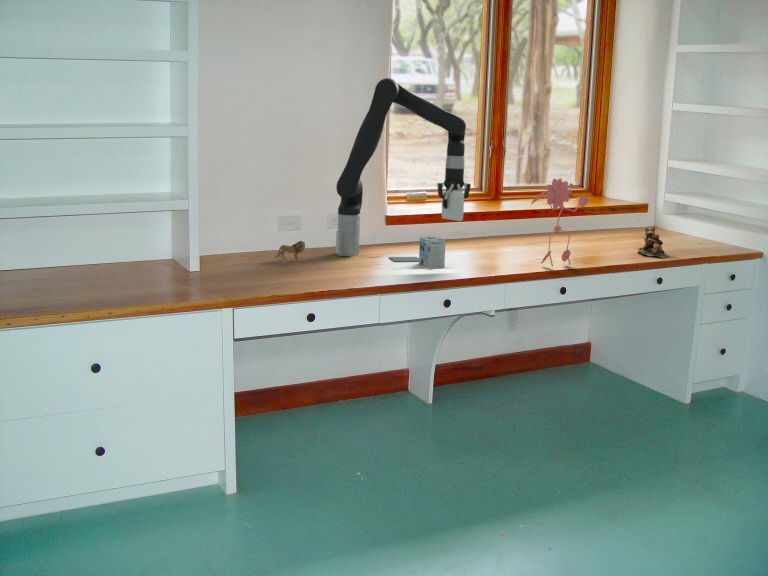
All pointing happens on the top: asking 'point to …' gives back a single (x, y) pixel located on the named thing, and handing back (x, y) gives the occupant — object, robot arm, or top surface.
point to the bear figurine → (652, 244)
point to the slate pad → (404, 259)
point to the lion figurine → (292, 249)
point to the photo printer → (454, 206)
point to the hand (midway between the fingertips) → (452, 208)
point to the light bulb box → (432, 252)
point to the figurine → (557, 197)
